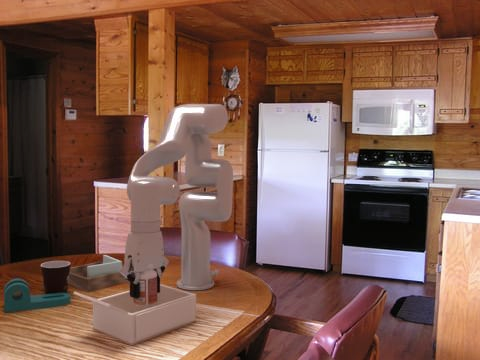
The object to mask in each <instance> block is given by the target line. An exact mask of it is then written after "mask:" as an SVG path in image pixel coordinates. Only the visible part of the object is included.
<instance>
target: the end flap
mask: <svg viewBox="0 0 480 360" xmlns="http://www.w3.org/2000/svg"><path fill="white" fill-rule="evenodd" d="M73 295H76V296H78V297H80V298H82V299H85V300H87V301H89V302H92V303H93V302H94V303H97V304H100V305H103V306H105V307H108V308H111V309H113V310H116V311H119V312H121V313H124V314H128V312H127V311H124V310H122V309H120V308H118V307H115V306H113V305H111V304H108V303H105V302H103V301H100V300H97V299H98V298H94V297H91V296H89V295H85V294H82V293H81V292H78V291H74V292H73Z"/></svg>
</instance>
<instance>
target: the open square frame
mask: <svg viewBox="0 0 480 360" xmlns="http://www.w3.org/2000/svg"><path fill="white" fill-rule="evenodd" d="M98 264H103V261H96V262H91V263H86V264H82V265H78V266H72V267H70V273H69V282H68V286H70V285H71V286H70V287H73V286H74V287H73V288H76V289H79V290H81V291H85V292H87V293H89V292H92V291H97V289H98V290H101V288H102V289H105V288H109V287H113V286H118V285H120V284H124V283H129V282H128V281H127V279H126V278H125V277H124V276H123V275H122V274H121V273H120V271H119V272H115V273H110V274H106V275H102V276H98V277H93V278H87V266H92V265H98ZM128 272H129V273H130V270H128Z"/></svg>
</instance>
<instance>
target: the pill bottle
mask: <svg viewBox="0 0 480 360" xmlns="http://www.w3.org/2000/svg"><path fill="white" fill-rule="evenodd" d="M153 268H154V266H153V264H150V265H149V266H148V268H147V269H148V270H147V271H145V272H141V274H140V277H139V280H138V283H139V284H140V298H139V299H135V298H133V302H134V305H136V306H138V307H150V306H153V305H155V304H156V303H157V272H156V271H155V270H153ZM134 276H135V274H134Z"/></svg>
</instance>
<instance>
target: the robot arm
mask: <svg viewBox="0 0 480 360" xmlns="http://www.w3.org/2000/svg"><path fill="white" fill-rule="evenodd" d="M166 117H167V118H166V120H165V123H164V126H163V128H162V132H161V134H160V136H159V140H158V142H157V144H156V145H154V146H153V147H151V148H150V149H149V150H147V151H146V152H145V153H143V155H141V156H140V157H139V158H138V159H137V161H136V162H135V163H134V165H133V167H132V170H131V172H130V174H129V178H128V181H127V184H126V195H127V198H128V199H129V200H130V232H128V233H127V236H126V242H125V247H124V259H123V260H124V264H122V268H121V270H120V273H121V274H122V275H123V276H124V277H125V278H126V279H127V281H128V282H127V283H129V290H130V297H132V298H135V299H139V298H140V284H139V283H138V280H139V277H140V274H141V272H145V271H147V270H148V269H147V268H148V266H149V265H150V264H153V266H154V268H153V270H155V271H156V272H157V293H160V284H161V278H163V273H164V272H165V270H166V268H167V267H168V265H169V263H170V261H169V259H168V258H167V257H166V256H165V250H164V249H165V248H164V238H163V233H162V231H161V226H162V225H163V222H162V220H161V206H163V205H165V206H169V205H172V204H175V203H176V202H177V200H178V209H179V215H180V223H181V225H180V226H181V255H180V256H181V260H180V263H181V264H180V265H181V269H180V270H181V271H180V275H181V276H180V277H181V278H180V279H178V280H177V281H176V287H178V289H180V290H184V291H185V290H186V291H203V290H209V289H211V288H213V287H214V286H215V280H214V279H213V277H216V276H218V275H219V274H220V270H218V269H214V270H211V231H210V229H209V227H208V225H207V224H206V222H207V221H208V222H218V223H219V222H220V223H221V222H227V221H228V220H229V219H230V218H231V216H232V212H233V211H232V210H233V194H234V193H233V191H234V170H233V169H234V167H233V166H232V163H231V162H230V161H229V160H227V159H224V158H212V154H213V153H212V150H213V149H212V146H213V145H212V141H211V139H210V137H209V136H208V135H214V134H216V133H217V134H218V133H220V132H222V131H223V130H224V129H225V128H226V127H227V124H228V122H229V121H228V120H229V114H228V111H227V109H226V107H225V106H224V105H223V104H220V103H186V104H180V105H178V106H175V107H173V108H171V110H169V113H168V115H167V116H166ZM184 157H185V159H184V160H185V161H184V163H185V164H184V178H185V180H184V181H185V182H186V184H187V185H189V186H190V187H196V188H213V189H216V192H215V191H203V190H201V191H200V190H192V191H190V190H189V191H187V192H186V191H185V192H184V193H183V194H181V193H180V192H181V188H180V183H178V181H177V180H176V179H174V178H172V177H167V176H166V177H165V176H153V175H150V174H151V173H153V172H154V171H155V170H158V169H159V168H162V167H165V166H168V165H170V164H173V163H176V162H179V161H180V160H182V159H183V158H184ZM180 194H181V196H180ZM179 196H180V197H179ZM128 270H130V273H129V272H128ZM134 274H135V276H134Z"/></svg>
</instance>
